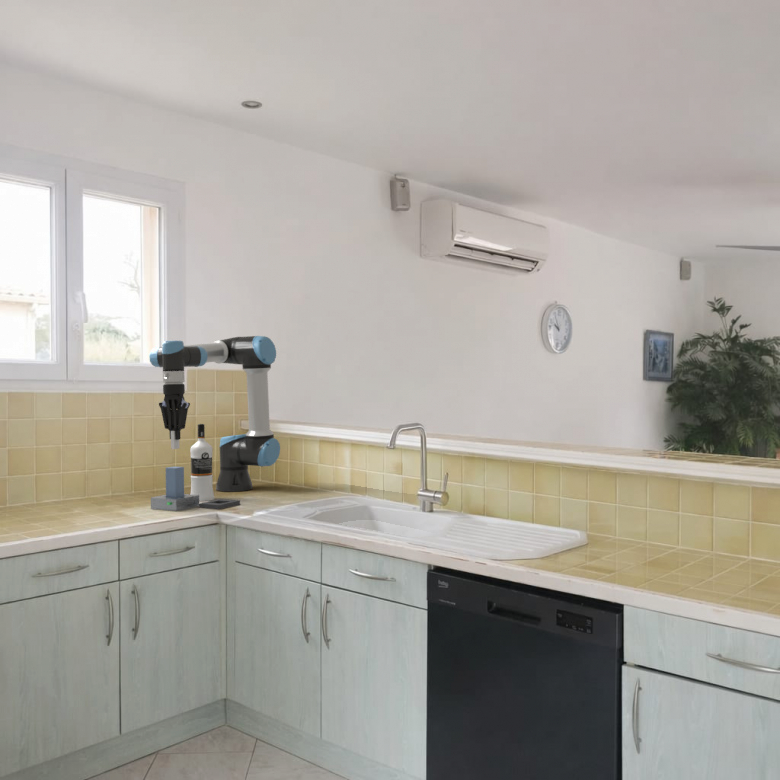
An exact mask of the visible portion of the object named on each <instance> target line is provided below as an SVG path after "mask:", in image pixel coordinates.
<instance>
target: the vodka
mask: <svg viewBox="0 0 780 780" xmlns="http://www.w3.org/2000/svg"><path fill="white" fill-rule="evenodd" d="M205 429H206V428H205V424H204V423H199V424H197V441H196V442H195V443H194V444H193V445H191V447H190V449H189V451H190V456H189V457H190V483H191V484H190V494H192V495H199V502H209V501H213V500H215V494H214V493H215V492H214V489H213V487H214V486H213V477H214V475H213V451H214V450H213V449H214V448H213V446H212V445H211V444H209V442H207V441H206V439H205V433H206V431H205Z"/></svg>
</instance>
